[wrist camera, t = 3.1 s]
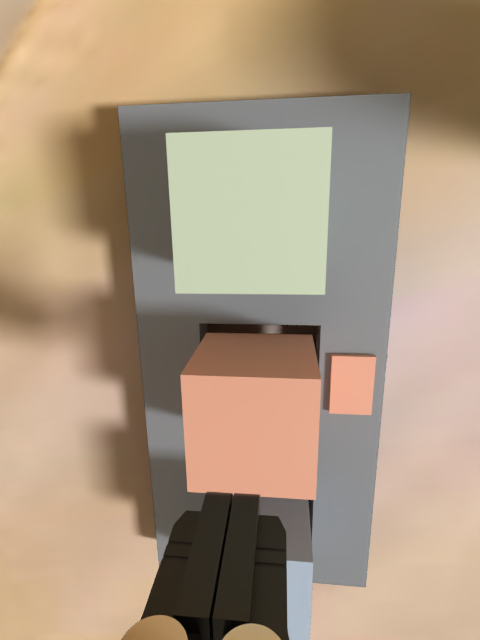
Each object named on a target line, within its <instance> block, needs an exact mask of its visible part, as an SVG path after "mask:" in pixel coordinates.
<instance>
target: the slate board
mask: <svg viewBox="0 0 480 640" xmlns="http://www.w3.org/2000/svg"><path fill="white" fill-rule="evenodd" d="M410 98H411V93H392V94H369V95H347V96H325V97H303V98H281V99H259V100H237V101H215V102H193V103H171V104H149V105H127V106H118V116H119V127H120V138H121V149H122V160H123V171H124V182H125V194H126V205H127V216H128V227H129V238H130V249H131V260H132V271H133V282H134V294H135V305H136V316H137V327H138V338H139V349H140V360H141V371H142V382H143V393H144V405H145V416H146V427H147V438H148V449H149V460H150V471H151V482H152V493H153V505H154V516H155V527H156V538H157V549H158V560H159V566H160V563H161V560H162V559H163V554H164V552H165V549H166V546H167V544H168V540H169V537H170V534H171V531H172V528H173V525H174V524H175V522H176V521H177V520H178V519H179V518H180V517H181V516H182V515H183V513H184V512H185V511H186V510H188V511H201V509H202V505H203V502H204V498H205V495H206V493H196V492H187V475H186V459H185V443H184V426H183V410H182V394H181V377H180V375H181V373H182V372H183V370H184V368H185V367H186V365H187V364H188V362H189V360H190V359H191V357H192V355H193V354H194V352H195V351H196V349H197V347H198V346H199V344H200V343H201V341H202V339H203V338H204V336H205V335H206V333H208V329H207V324H266V325H317V344H316V356H317V361H318V366H319V370H320V375H321V398H320V421H319V443H318V466H317V489H316V500H310V527H311V540H312V553H313V579H312V583H321V584H333V585H344V586H356V587H366V579H367V568H368V557H369V546H370V535H371V524H372V513H373V502H374V491H375V480H376V469H377V458H378V448H379V437H380V426H381V415H382V404H383V393H384V382H385V371H386V360H387V349H388V338H389V328H390V317H391V306H392V295H393V284H394V273H395V262H396V251H397V240H398V229H399V218H400V207H401V197H402V186H403V175H404V164H405V153H406V142H407V131H408V120H409V109H410ZM315 127H332V149H331V171H330V194H329V217H328V239H327V262H326V285H325V295H296V294H177V293H175V279H174V263H173V247H172V230H171V214H170V198H169V182H168V165H167V149H166V133H181V132H207V131H234V130H261V129H288V128H315Z"/></svg>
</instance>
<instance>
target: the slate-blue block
mask: <svg viewBox="0 0 480 640" xmlns="http://www.w3.org/2000/svg"><path fill="white" fill-rule="evenodd" d="M233 496H234V495H233ZM260 515H268V516H279V518H280V520H281V522H282V524H283V526H284V528H285V530H286V549H287V550H286V553H287V628H288V635H289V639H290V640H310V625H311V602H312V579H313V553H312V540H311V527H310V514H309V501H308V500H305V499H290V498H274V497H260Z"/></svg>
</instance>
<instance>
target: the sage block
mask: <svg viewBox="0 0 480 640" xmlns="http://www.w3.org/2000/svg"><path fill="white" fill-rule="evenodd" d="M166 149H167V165H168V182H169V198H170V214H171V230H172V247H173V263H174V279H175V293H177V294H296V295H325V285H326V262H327V239H328V217H329V194H330V171H331V149H332V127H315V128H288V129H261V130H234V131H207V132H181V133H166Z"/></svg>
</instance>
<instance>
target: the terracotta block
mask: <svg viewBox="0 0 480 640" xmlns="http://www.w3.org/2000/svg"><path fill="white" fill-rule="evenodd" d="M180 377H181V394H182V410H183V426H184V443H185V459H186V475H187V492H196V493H206V492H223V493H233V495H234V493H243V494H260V497H274V498H290V499H305V500H316V489H317V466H318V443H319V421H320V398H321V375H320V370H319V366H318V361H317V356H316V351H315V346H314V341H313V336H312V335H301V334H249V333H206V335H205V336H204V338H203V339H202V341H201V343H200V344H199V346H198V347H197V349H196V351H195V352H194V354H193V355H192V357H191V359H190V360H189V362H188V364H187V365H186V367H185V368H184V370H183V372H182V373H181V375H180Z"/></svg>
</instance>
